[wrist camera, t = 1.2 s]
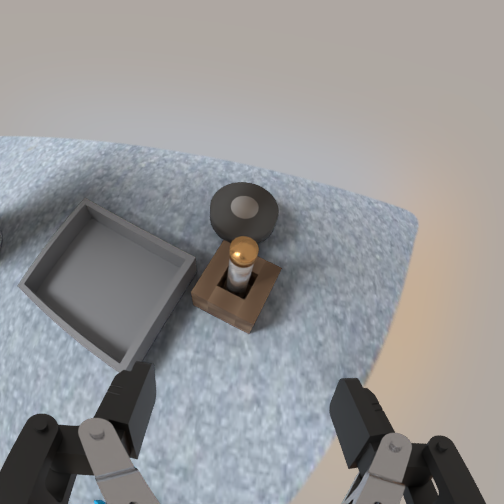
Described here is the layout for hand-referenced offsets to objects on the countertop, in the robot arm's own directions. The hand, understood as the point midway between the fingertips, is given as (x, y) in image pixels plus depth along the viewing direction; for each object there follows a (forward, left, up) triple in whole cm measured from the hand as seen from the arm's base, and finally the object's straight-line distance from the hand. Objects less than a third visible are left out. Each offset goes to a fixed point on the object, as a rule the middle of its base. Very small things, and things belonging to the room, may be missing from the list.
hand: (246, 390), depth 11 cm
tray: (-19, +4, -19) cm, 27 cm away
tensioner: (-6, +15, -19) cm, 25 cm away
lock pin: (-5, +11, -18) cm, 22 cm away
